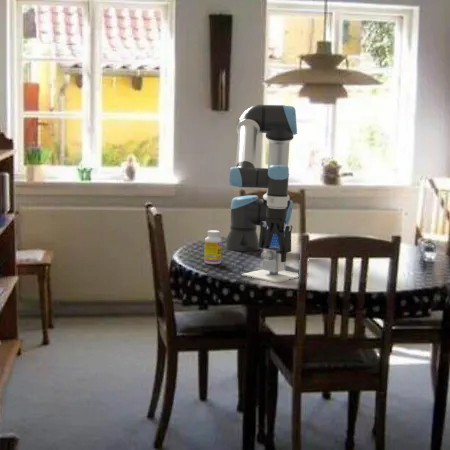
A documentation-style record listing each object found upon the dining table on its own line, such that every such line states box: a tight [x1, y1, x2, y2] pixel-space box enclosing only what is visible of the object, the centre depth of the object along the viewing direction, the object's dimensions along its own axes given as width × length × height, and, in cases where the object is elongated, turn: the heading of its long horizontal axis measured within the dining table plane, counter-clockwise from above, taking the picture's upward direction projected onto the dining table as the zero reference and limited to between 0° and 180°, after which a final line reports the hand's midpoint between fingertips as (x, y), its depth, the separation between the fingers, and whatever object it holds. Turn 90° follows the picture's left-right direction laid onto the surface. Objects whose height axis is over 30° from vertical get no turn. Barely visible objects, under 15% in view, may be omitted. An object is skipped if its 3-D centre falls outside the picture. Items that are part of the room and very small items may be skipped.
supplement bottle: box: [203, 229, 223, 265], centre depth 314 cm, size 7×7×13 cm
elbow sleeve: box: [260, 247, 287, 272], centre depth 293 cm, size 9×6×8 cm
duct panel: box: [241, 269, 299, 284], centre depth 295 cm, size 18×16×6 cm
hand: (273, 268), depth 295 cm, fingers closed on elbow sleeve, 6 cm apart
